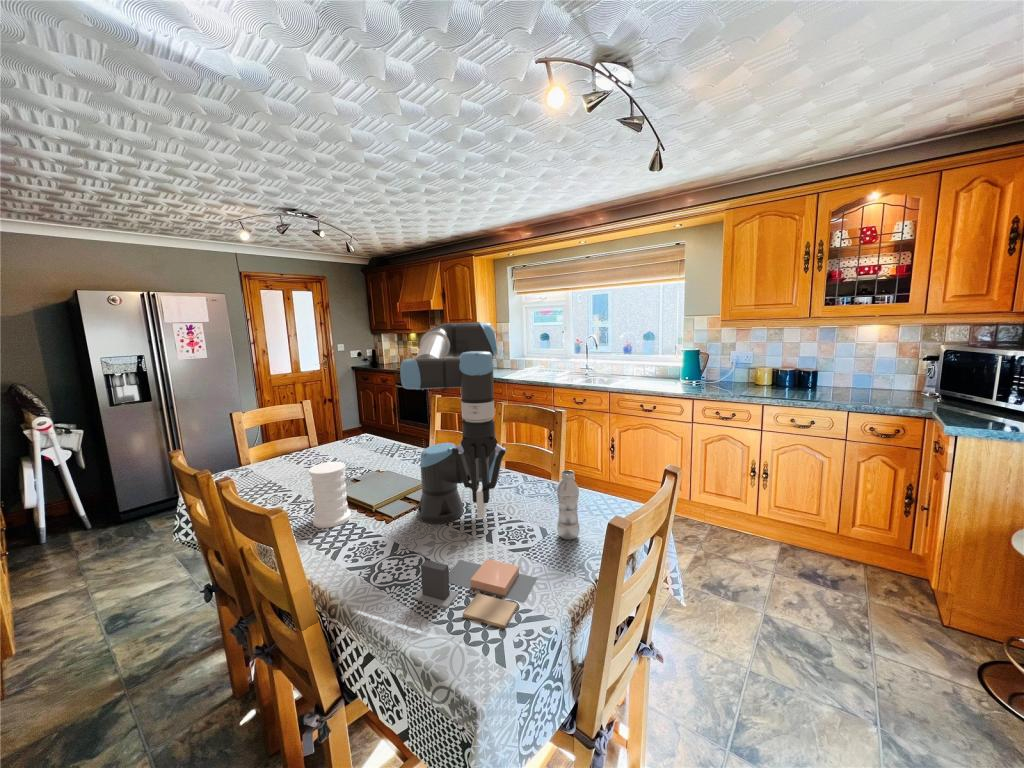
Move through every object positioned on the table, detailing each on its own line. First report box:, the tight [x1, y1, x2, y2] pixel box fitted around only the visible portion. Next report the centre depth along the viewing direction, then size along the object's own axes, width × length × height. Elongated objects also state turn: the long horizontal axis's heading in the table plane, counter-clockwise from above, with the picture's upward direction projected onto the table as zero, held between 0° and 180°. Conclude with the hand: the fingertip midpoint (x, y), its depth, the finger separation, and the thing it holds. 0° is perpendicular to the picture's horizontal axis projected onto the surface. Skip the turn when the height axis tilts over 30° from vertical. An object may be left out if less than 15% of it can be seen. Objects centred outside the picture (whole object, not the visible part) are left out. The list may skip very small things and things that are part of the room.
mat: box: [449, 559, 539, 603], centre depth 99 cm, size 22×10×1 cm, turn 68°
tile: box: [470, 558, 520, 596], centre depth 98 cm, size 2×9×9 cm
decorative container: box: [308, 461, 352, 529], centre depth 132 cm, size 12×12×18 cm
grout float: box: [413, 559, 459, 609], centre depth 93 cm, size 9×5×8 cm, turn 68°
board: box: [462, 592, 518, 630], centre depth 88 cm, size 10×7×1 cm
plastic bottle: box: [556, 469, 580, 541], centre depth 118 cm, size 6×7×20 cm
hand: (481, 514), depth 96 cm, fingers closed
